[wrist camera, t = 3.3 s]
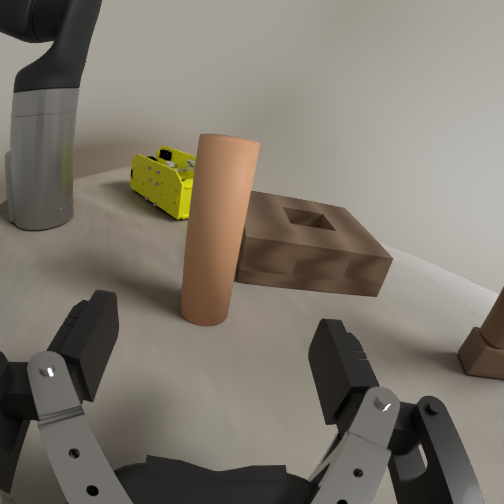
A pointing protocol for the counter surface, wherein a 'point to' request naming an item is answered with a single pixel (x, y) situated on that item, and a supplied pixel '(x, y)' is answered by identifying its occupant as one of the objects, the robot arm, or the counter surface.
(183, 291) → the pin
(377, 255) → the socket block
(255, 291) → the counter surface
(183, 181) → the yellow toy chassis
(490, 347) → the wooden block
